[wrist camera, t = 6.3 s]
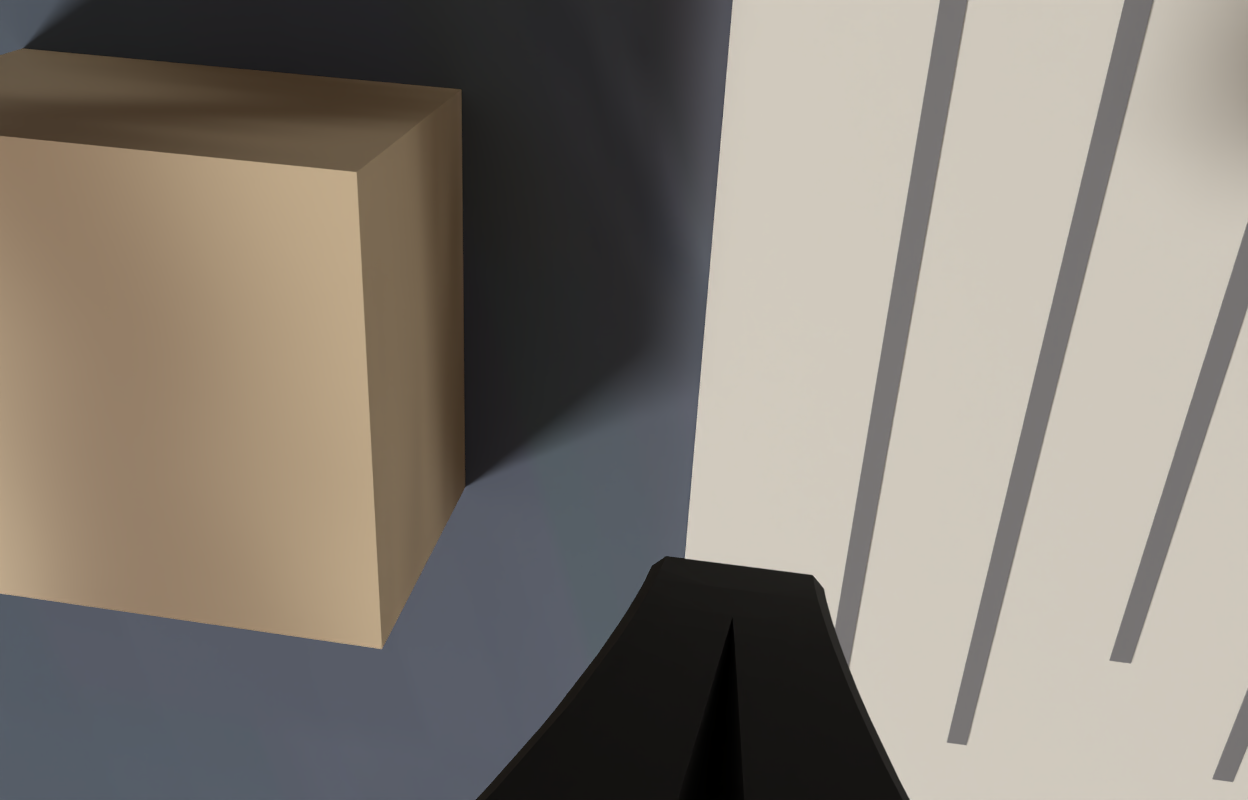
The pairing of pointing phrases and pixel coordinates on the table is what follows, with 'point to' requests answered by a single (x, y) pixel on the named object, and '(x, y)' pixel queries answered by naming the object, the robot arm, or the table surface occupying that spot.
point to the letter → (995, 377)
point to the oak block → (227, 341)
